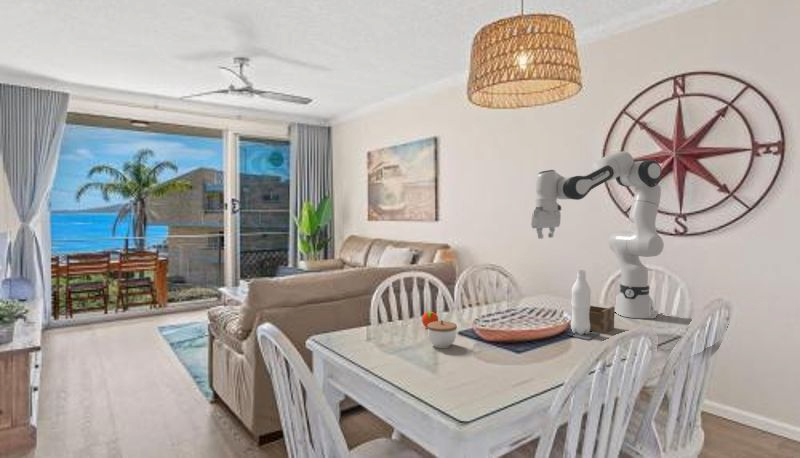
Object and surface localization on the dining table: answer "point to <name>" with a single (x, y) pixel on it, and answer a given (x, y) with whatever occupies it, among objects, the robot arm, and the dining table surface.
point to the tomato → (429, 318)
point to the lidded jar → (442, 333)
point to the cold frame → (601, 319)
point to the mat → (587, 335)
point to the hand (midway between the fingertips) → (545, 237)
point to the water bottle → (580, 305)
